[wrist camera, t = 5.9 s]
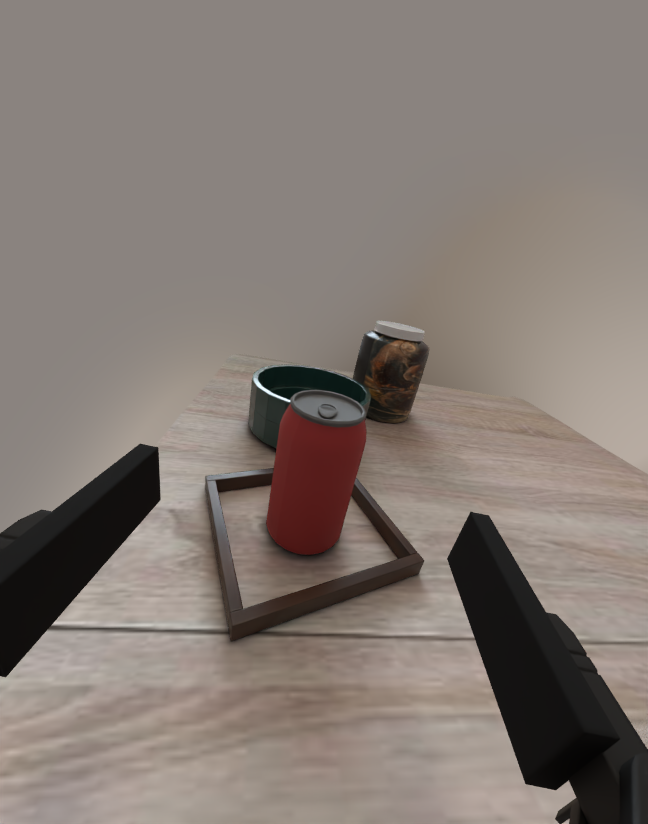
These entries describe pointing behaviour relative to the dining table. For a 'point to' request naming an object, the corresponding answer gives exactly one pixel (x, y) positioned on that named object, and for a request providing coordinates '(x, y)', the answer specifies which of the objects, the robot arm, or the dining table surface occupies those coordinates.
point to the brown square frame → (313, 597)
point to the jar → (391, 369)
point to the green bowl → (282, 383)
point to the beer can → (315, 470)
